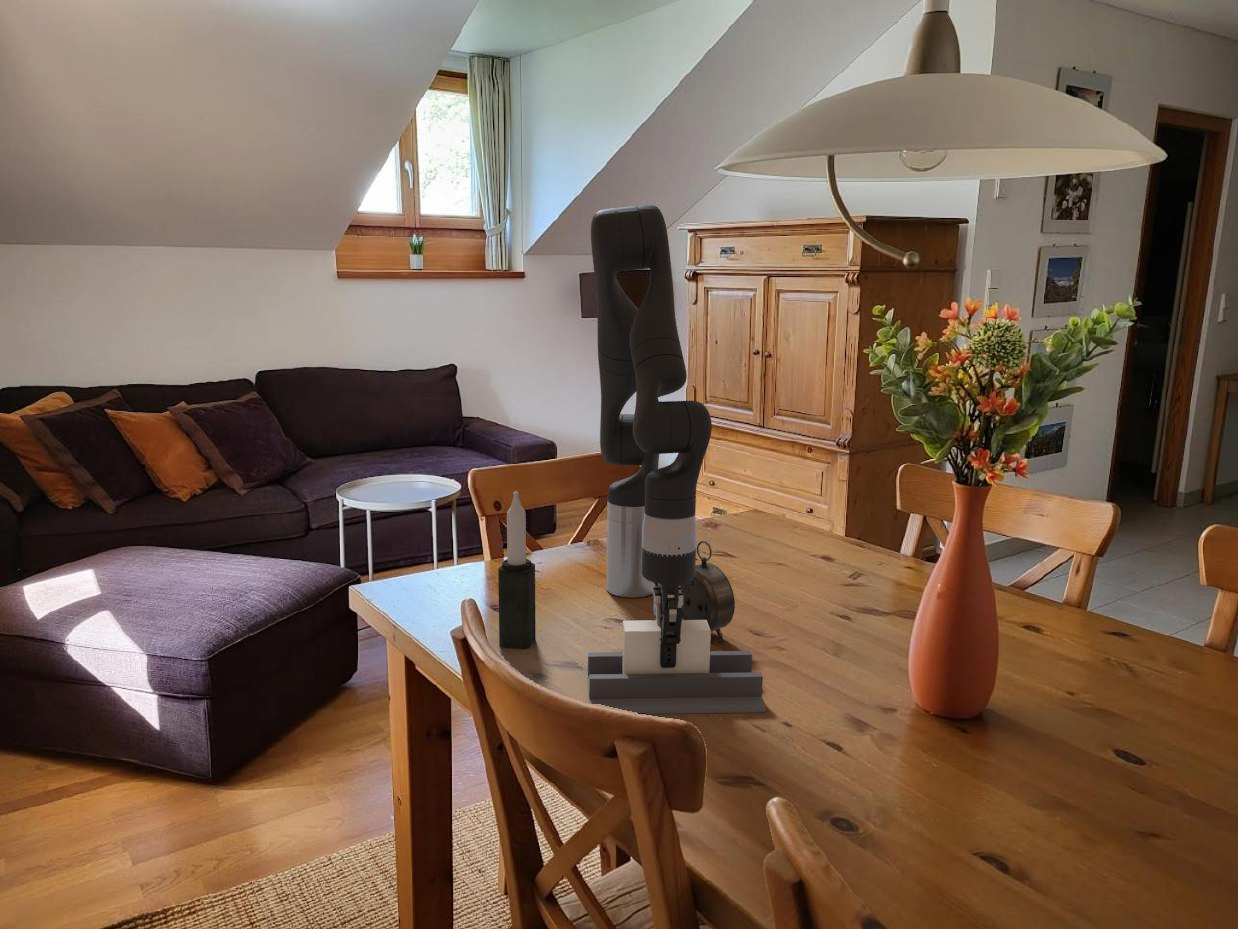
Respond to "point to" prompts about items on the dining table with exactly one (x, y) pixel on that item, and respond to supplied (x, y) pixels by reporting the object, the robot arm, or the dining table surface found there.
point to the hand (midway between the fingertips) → (666, 659)
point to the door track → (678, 686)
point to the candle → (516, 584)
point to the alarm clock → (708, 596)
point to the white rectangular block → (645, 648)
